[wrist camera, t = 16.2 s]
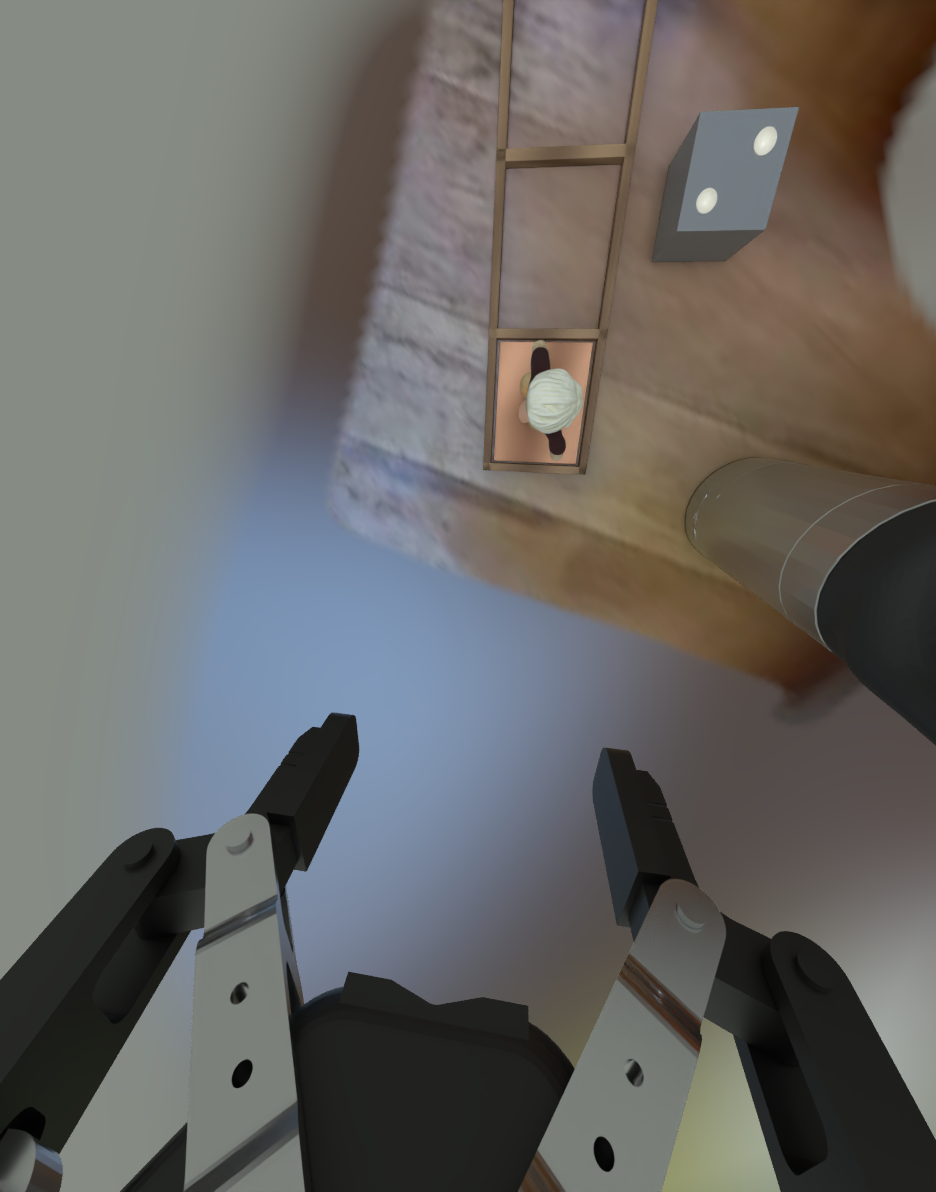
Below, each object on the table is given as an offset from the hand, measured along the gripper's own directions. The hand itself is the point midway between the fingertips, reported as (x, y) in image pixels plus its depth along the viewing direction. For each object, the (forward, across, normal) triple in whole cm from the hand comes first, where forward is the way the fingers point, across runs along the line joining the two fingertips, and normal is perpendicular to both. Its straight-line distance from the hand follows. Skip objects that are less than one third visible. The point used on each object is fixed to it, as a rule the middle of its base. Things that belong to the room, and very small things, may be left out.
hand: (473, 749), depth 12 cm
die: (+28, -11, -23) cm, 38 cm away
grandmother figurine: (+27, -2, -11) cm, 29 cm away
